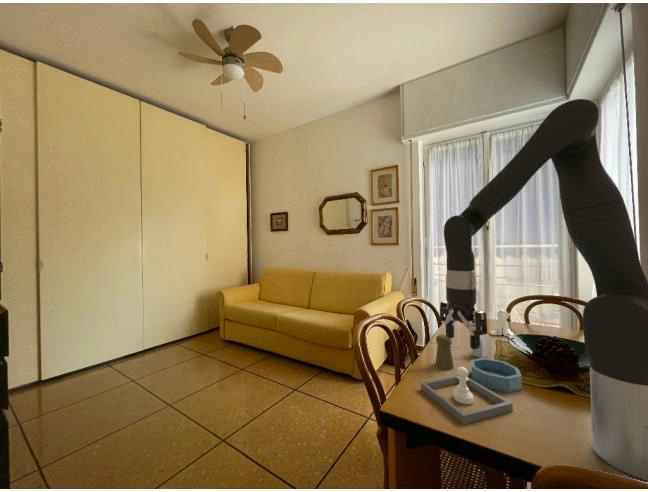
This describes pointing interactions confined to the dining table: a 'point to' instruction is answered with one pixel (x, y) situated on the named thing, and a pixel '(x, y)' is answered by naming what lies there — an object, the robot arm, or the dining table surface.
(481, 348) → the grey house block
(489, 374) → the bowl
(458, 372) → the chess pawn
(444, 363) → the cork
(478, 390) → the grey square frame
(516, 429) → the dining table surface
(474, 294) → the robot arm
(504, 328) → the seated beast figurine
